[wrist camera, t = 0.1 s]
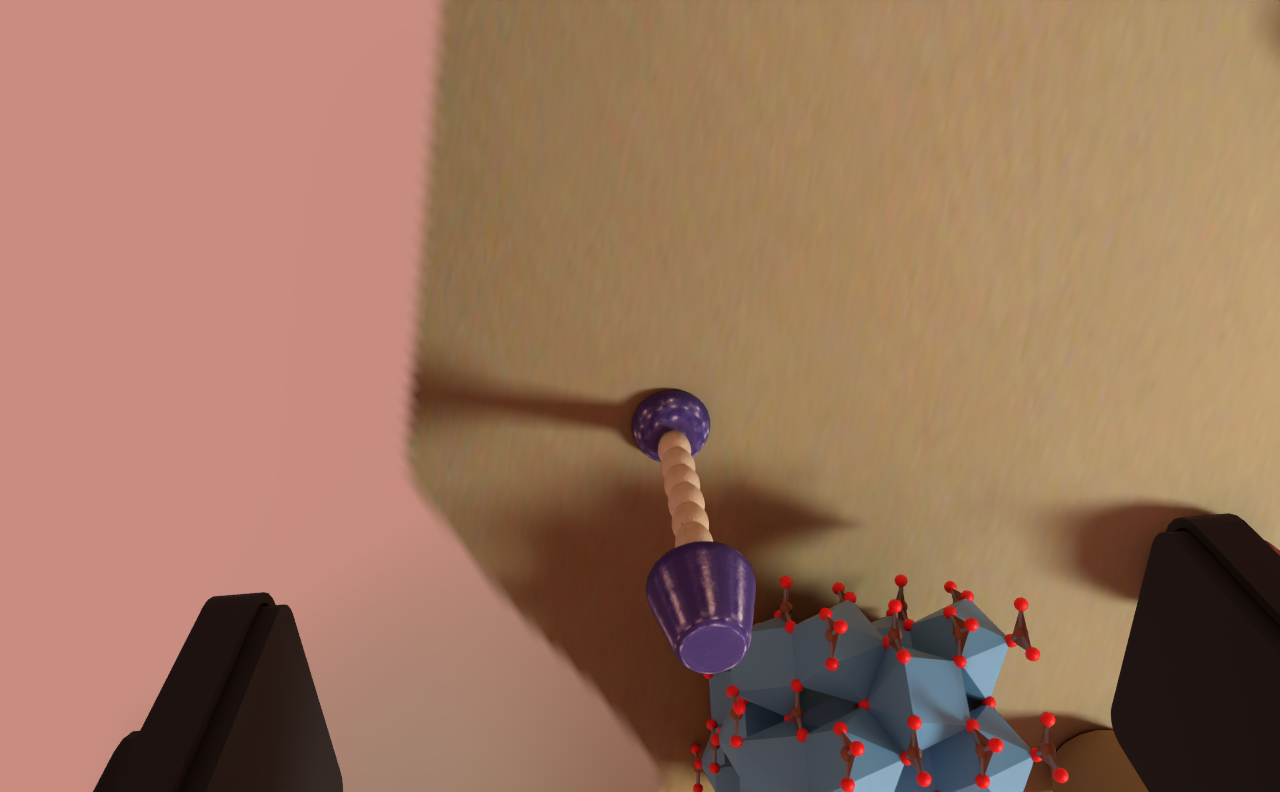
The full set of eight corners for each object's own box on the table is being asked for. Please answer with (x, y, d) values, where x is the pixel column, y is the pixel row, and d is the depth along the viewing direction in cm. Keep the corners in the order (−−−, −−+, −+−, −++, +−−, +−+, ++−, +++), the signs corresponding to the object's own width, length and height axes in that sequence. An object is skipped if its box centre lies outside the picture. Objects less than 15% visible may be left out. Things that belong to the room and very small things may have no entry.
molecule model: (922, 927, 60) (1117, 920, 39) (698, 935, 59) (768, 933, 38) (882, 664, 68) (1024, 536, 47) (683, 668, 67) (735, 539, 46)
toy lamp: (733, 418, 52) (795, 633, 37) (683, 479, 54) (723, 708, 39) (661, 375, 50) (695, 582, 36) (611, 439, 52) (625, 662, 37)
